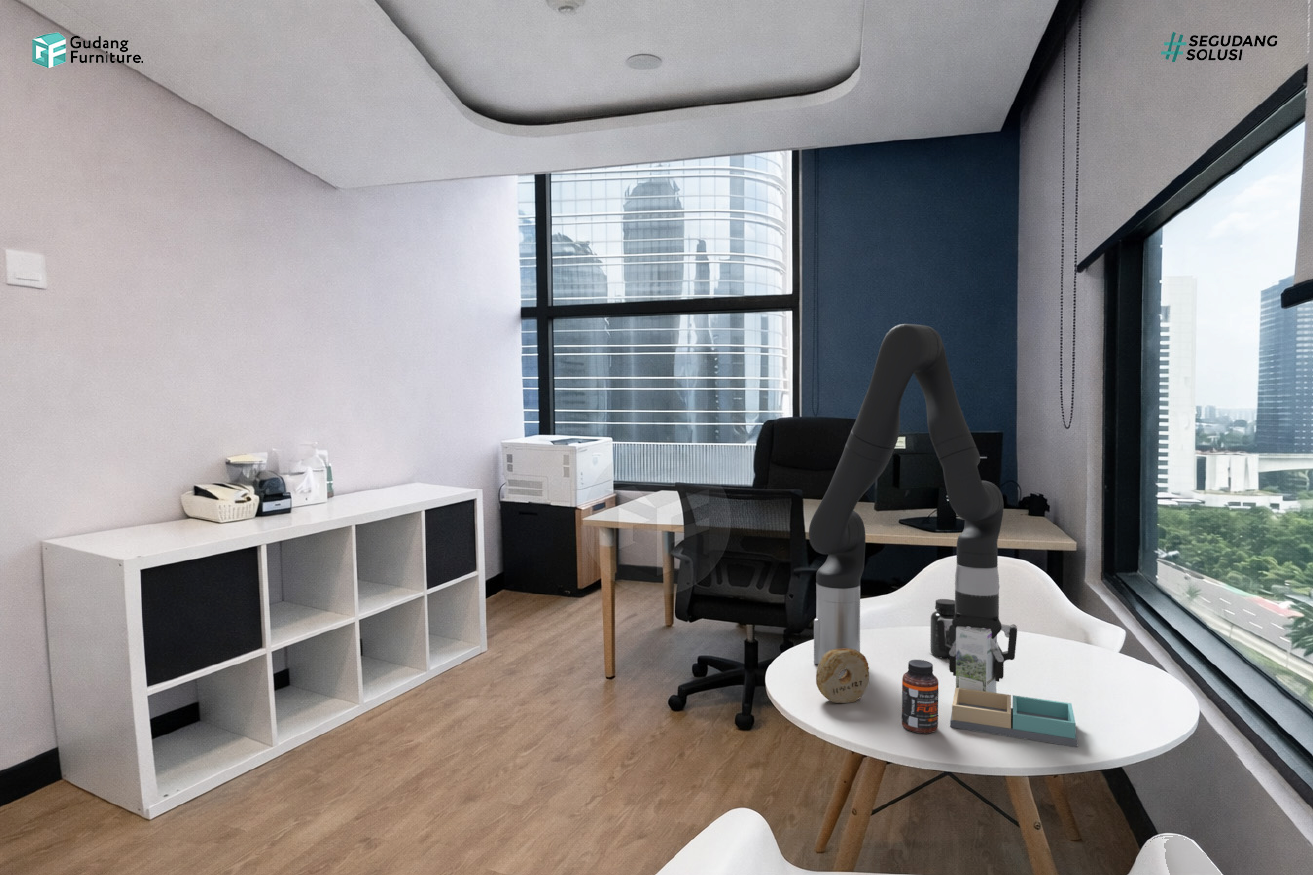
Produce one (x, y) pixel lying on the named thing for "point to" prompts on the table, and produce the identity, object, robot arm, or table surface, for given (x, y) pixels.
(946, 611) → the supplement bottle
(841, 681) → the stone disc
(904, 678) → the supplement bottle
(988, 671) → the syrup box
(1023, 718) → the teal and wood tray
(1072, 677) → the table surface
